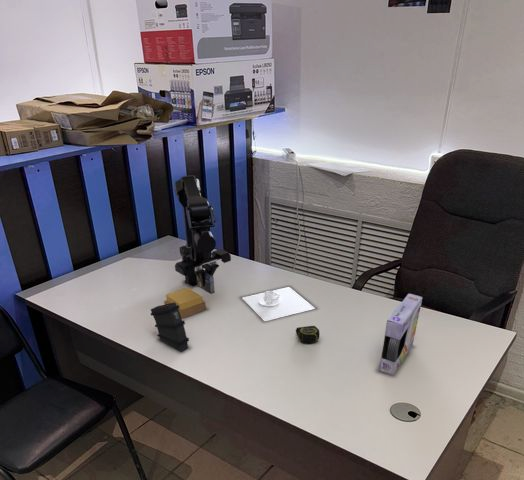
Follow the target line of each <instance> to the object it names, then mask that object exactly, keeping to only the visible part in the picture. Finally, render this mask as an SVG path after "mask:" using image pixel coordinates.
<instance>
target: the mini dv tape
mask: <svg viewBox="0 0 524 480" xmlns="http://www.w3.org/2000/svg"><path fill="white" fill-rule="evenodd" d="M196 276H197V275H196ZM196 287H197V288H199V289H201V290H203V291H205V292H206V293H208V294H210V295H213V294H215V280H214V275H213V276H211V275H210V274H208V273H206V272H205V286H204V287H203V286H202V285H201V283H200V281H199V279H198V277H197V286H196Z"/></svg>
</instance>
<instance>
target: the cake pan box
mask: <svg viewBox="0 0 524 480" xmlns="http://www.w3.org/2000/svg"><path fill="white" fill-rule="evenodd" d="M422 303H423V296H420V295H416V294H413V293H407V295H406V296H405V297H404V298H403V300H402V301H401V302H400V303H399V304H398V305H397V306H396V308H395V310H394V311H393V312H392V313H391V315H390V316H389V317H388V318H387V320H386V324H385V331H384V336H383V337H384V338H383V345H382V350H381V356H380V362H379V370H378V371H379V372H381V373H384V374H386V375H389V376H394V375H395V374H396V372H397V371H398V369H399V367H400V366H401V364H402V362H403V361H404V359H405V358H406V356H407V355H408V354H409V352H410V350H411V349H412V347H413V345H414V341H415V336H416V331H417V327H418V326H417V325H418V321H419V317H420V312H421V308H422Z"/></svg>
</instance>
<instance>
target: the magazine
mask: <svg viewBox="0 0 524 480" xmlns="http://www.w3.org/2000/svg"><path fill="white" fill-rule="evenodd" d="M178 308H180V307H179V305H176V303H175V302H174V303H169V304H161V305H160V304H159V305H157V306H155V307H153V308H150V316H152V317H153V319H154V322H155V324H154V327H155V328H157V331H158V334H156V336H157V337H158V338H159V341H161V342H162V343H164V344H166V345H167V346H170V347H171V348H173V349H175V350H177V351H178V352H184V351H185V350H187V349H188V348H189V344H188V343H189V341H190V338H189V337H187V333H186V328H185V325H186V322H185V320H183V318H181V315H180V312H179V310H178Z"/></svg>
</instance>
